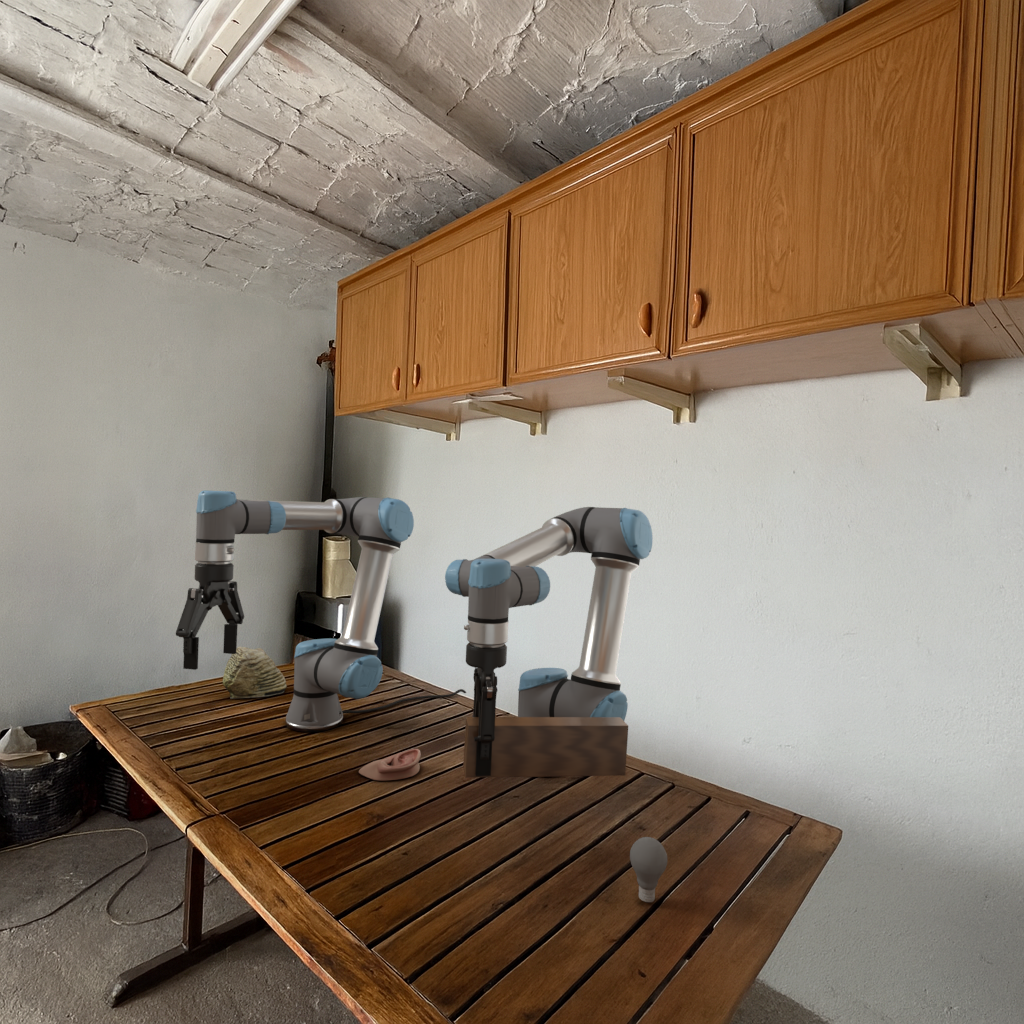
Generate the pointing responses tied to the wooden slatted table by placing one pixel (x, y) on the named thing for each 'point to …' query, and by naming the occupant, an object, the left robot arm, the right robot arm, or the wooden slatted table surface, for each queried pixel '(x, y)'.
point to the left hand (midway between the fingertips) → (211, 660)
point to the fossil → (252, 674)
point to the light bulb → (648, 865)
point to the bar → (551, 746)
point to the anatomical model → (393, 766)
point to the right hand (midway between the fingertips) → (481, 768)
